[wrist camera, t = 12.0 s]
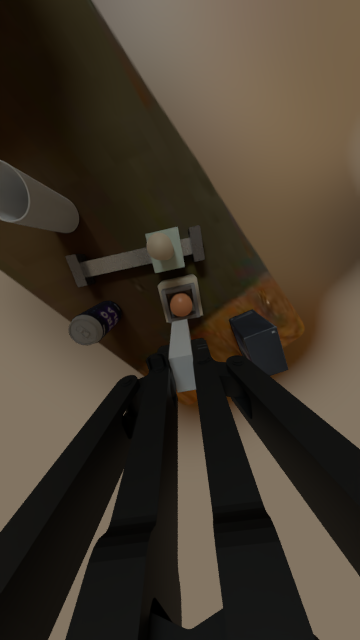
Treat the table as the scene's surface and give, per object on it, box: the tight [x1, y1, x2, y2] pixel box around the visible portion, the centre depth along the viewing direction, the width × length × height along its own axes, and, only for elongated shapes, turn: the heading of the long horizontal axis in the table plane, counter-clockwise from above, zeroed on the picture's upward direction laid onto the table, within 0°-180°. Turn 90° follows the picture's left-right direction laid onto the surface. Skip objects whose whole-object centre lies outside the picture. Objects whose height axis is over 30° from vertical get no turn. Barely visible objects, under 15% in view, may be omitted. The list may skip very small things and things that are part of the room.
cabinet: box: [158, 274, 203, 323], centre depth 33 cm, size 7×7×10 cm
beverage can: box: [69, 301, 122, 345], centre depth 34 cm, size 6×6×12 cm
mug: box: [0, 160, 79, 233], centre depth 26 cm, size 10×7×12 cm, turn 36°
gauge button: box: [170, 292, 192, 317], centre depth 28 cm, size 4×4×3 cm
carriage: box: [145, 227, 185, 273], centre depth 28 cm, size 7×6×14 cm
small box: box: [229, 310, 288, 376], centre depth 37 cm, size 11×6×10 cm, turn 25°
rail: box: [65, 225, 205, 287], centre depth 34 cm, size 6×26×4 cm, turn 102°
